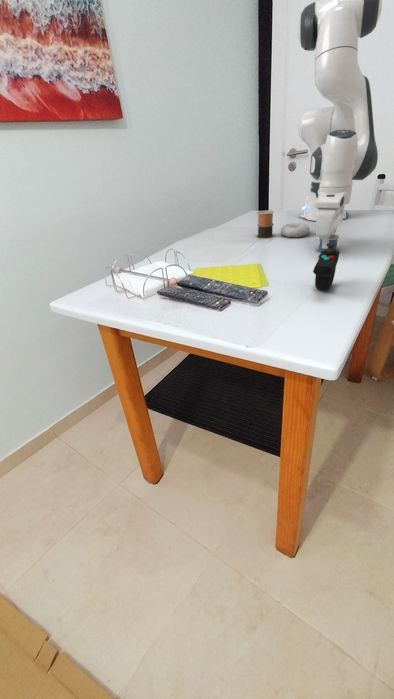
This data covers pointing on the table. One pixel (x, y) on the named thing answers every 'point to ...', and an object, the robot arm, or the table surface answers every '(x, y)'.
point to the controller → (326, 267)
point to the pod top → (332, 239)
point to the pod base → (265, 231)
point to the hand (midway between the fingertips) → (327, 244)
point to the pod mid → (265, 217)
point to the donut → (295, 230)
